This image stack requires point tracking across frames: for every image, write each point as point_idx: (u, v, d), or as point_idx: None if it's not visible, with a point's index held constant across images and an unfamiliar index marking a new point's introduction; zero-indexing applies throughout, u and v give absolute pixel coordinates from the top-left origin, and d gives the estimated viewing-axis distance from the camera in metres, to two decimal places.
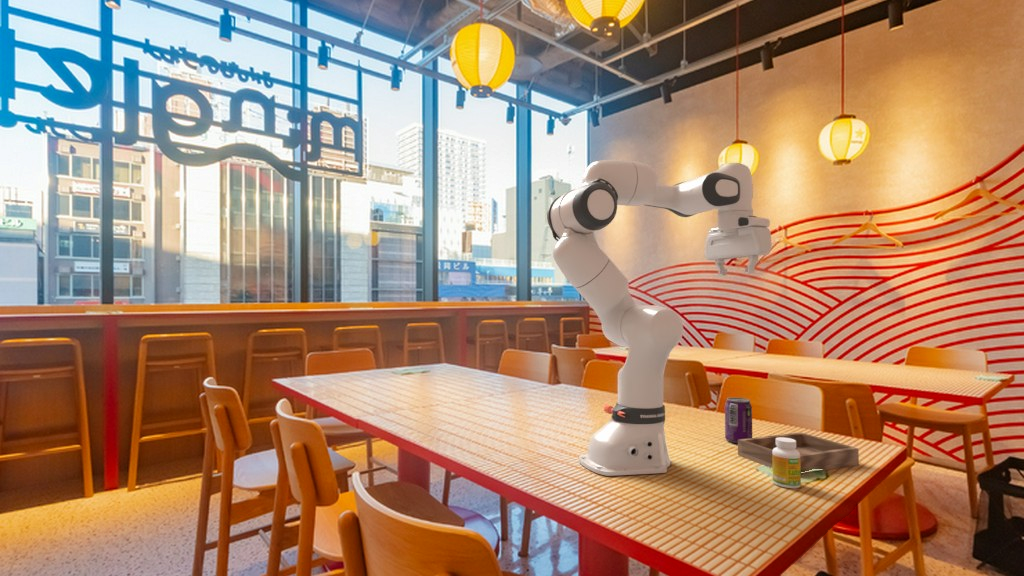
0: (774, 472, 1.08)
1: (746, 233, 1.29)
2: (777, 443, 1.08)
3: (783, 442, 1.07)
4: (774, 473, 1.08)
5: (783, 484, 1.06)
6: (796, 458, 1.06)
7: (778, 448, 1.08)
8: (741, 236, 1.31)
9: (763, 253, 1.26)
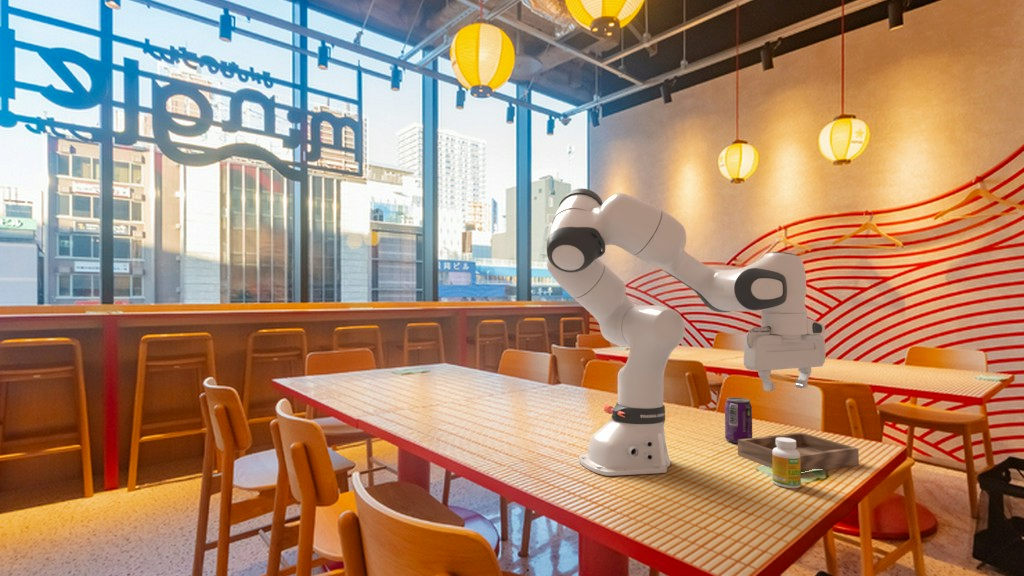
0: (774, 472, 1.08)
1: (811, 341, 1.09)
2: (777, 443, 1.08)
3: (783, 442, 1.07)
4: (774, 473, 1.08)
5: (783, 484, 1.06)
6: (796, 458, 1.06)
7: (778, 448, 1.08)
8: (802, 343, 1.09)
9: None
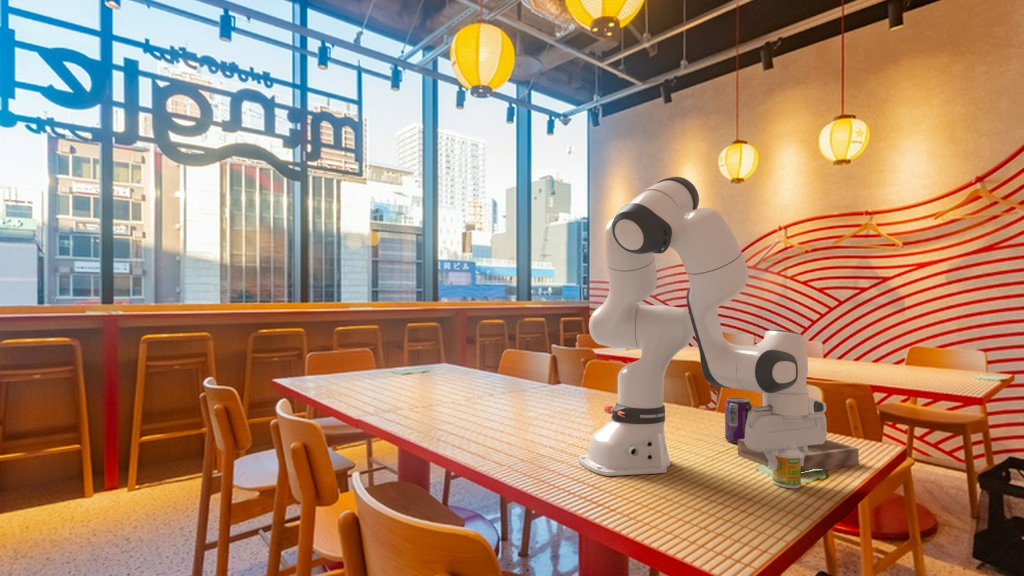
0: (774, 472, 1.08)
1: (812, 419, 1.08)
2: None
3: None
4: (774, 473, 1.08)
5: (783, 484, 1.06)
6: (796, 458, 1.06)
7: None
8: (804, 422, 1.08)
9: None
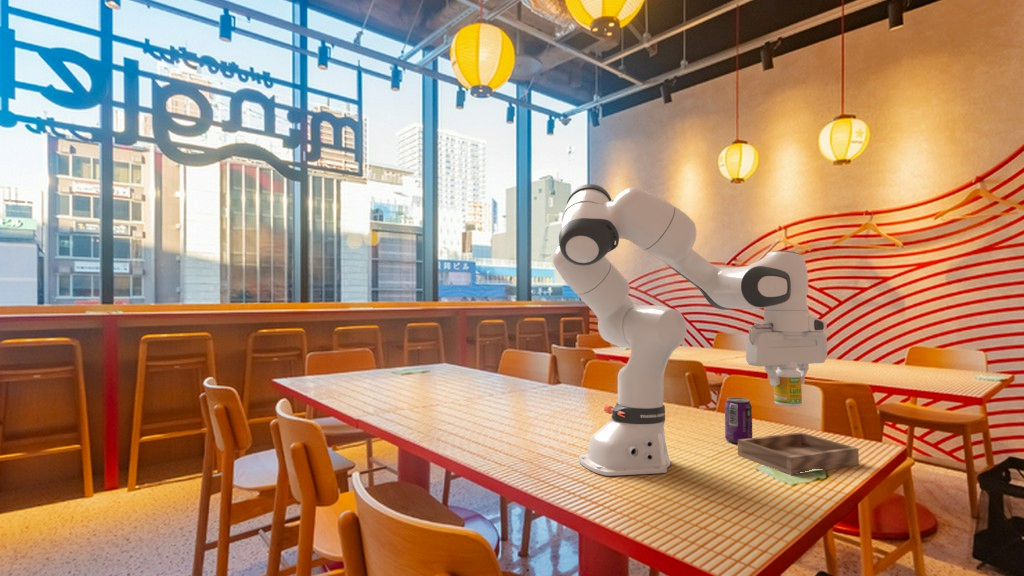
0: (776, 392, 1.11)
1: (812, 338, 1.11)
2: None
3: None
4: (776, 393, 1.11)
5: (784, 403, 1.09)
6: (796, 377, 1.09)
7: (779, 369, 1.11)
8: (804, 340, 1.11)
9: None
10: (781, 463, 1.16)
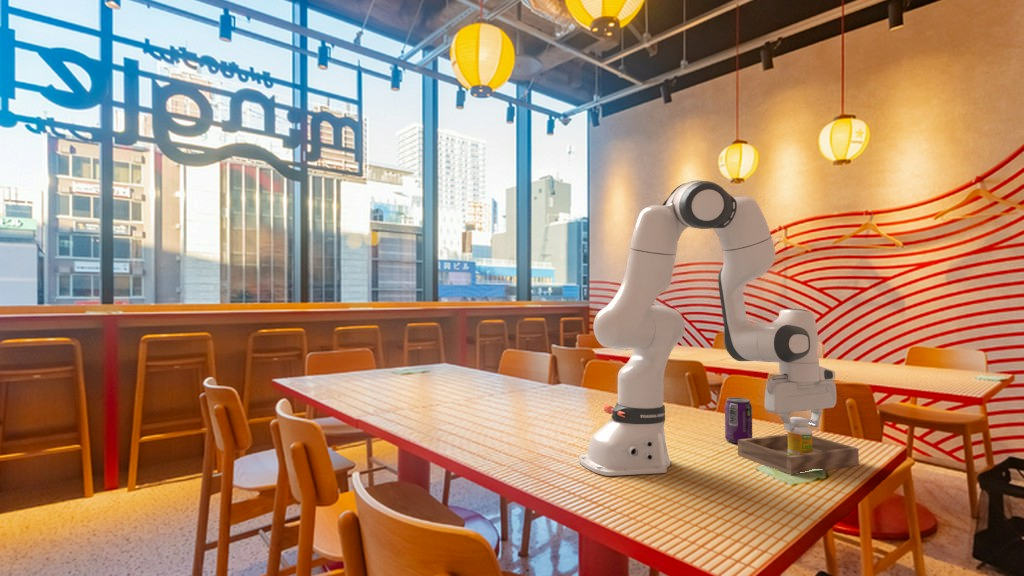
0: (789, 447, 1.23)
1: (823, 386, 1.25)
2: (792, 422, 1.24)
3: (797, 420, 1.22)
4: (789, 448, 1.23)
5: None
6: (808, 434, 1.21)
7: None
8: (816, 388, 1.24)
9: None
10: (781, 463, 1.16)
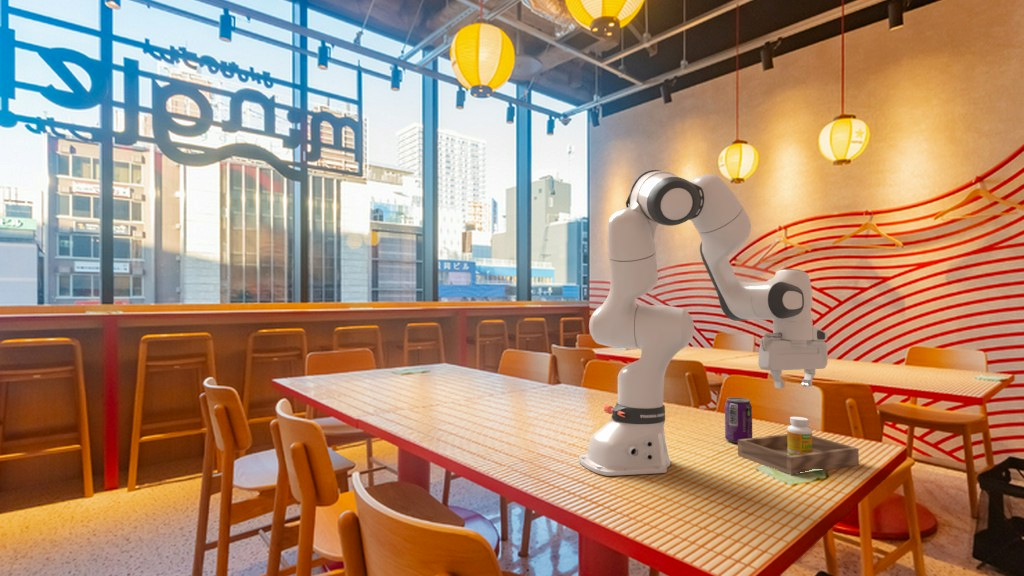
0: (789, 447, 1.24)
1: (815, 346, 1.27)
2: (792, 421, 1.24)
3: (797, 420, 1.22)
4: (789, 447, 1.24)
5: None
6: (808, 434, 1.21)
7: (792, 426, 1.24)
8: (808, 348, 1.26)
9: None
10: (781, 463, 1.16)
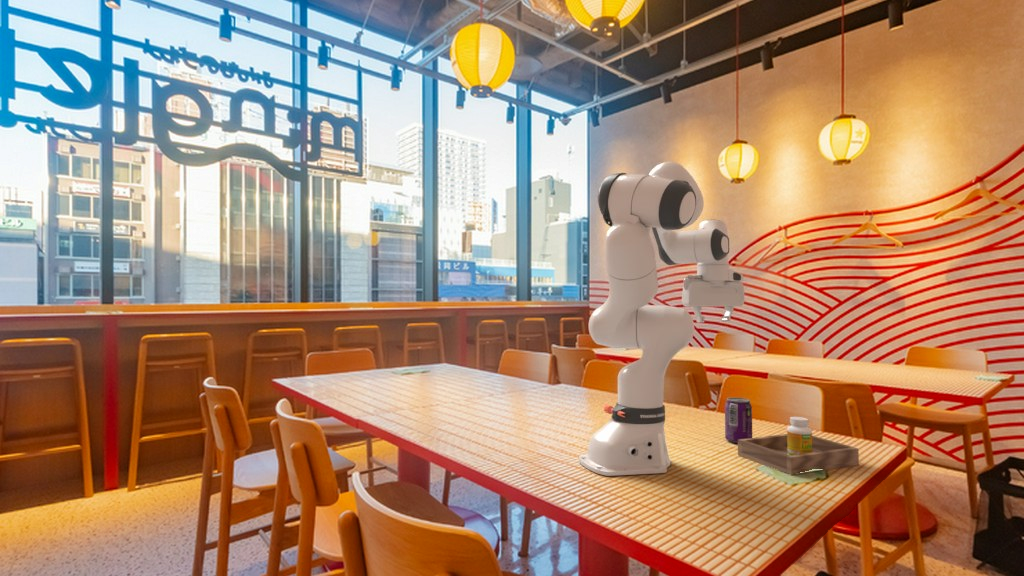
0: (789, 447, 1.24)
1: (733, 287, 1.47)
2: (792, 421, 1.24)
3: (797, 420, 1.22)
4: (789, 448, 1.24)
5: None
6: (808, 434, 1.21)
7: (792, 426, 1.24)
8: (726, 288, 1.46)
9: None
10: (781, 463, 1.16)
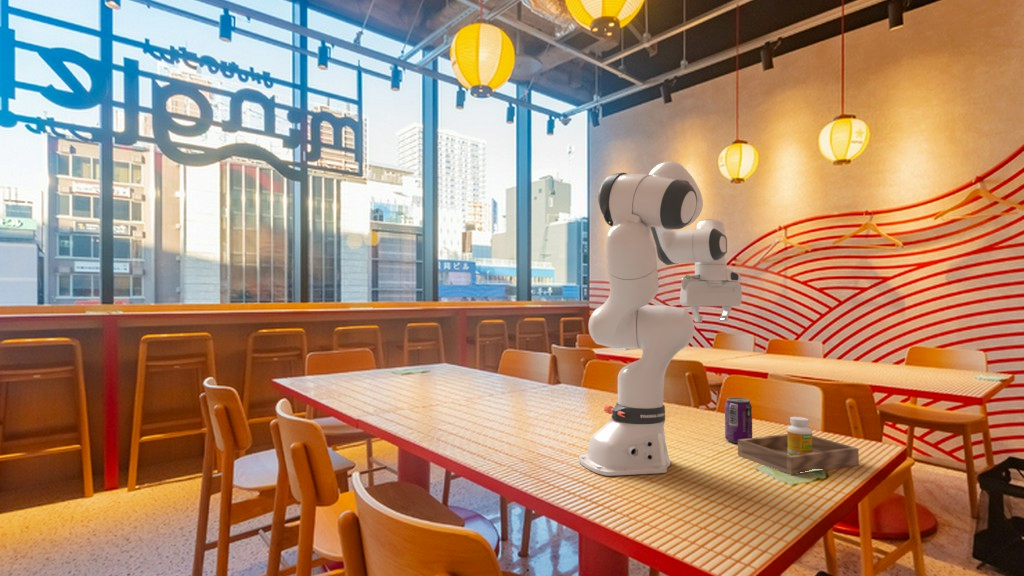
0: (789, 447, 1.24)
1: (730, 286, 1.47)
2: (792, 421, 1.24)
3: (797, 420, 1.22)
4: (789, 447, 1.24)
5: None
6: (808, 434, 1.21)
7: (793, 426, 1.24)
8: (724, 288, 1.47)
9: None
10: (781, 463, 1.16)
